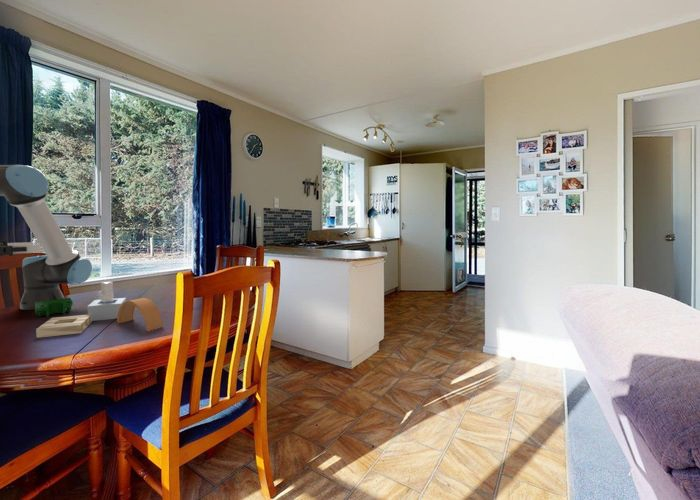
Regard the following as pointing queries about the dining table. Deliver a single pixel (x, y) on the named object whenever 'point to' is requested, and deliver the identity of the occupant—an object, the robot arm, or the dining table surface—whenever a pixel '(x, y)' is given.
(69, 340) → the dining table surface
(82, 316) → the birch block
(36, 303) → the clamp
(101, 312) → the slate holder block
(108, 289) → the steel axle
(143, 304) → the arch
